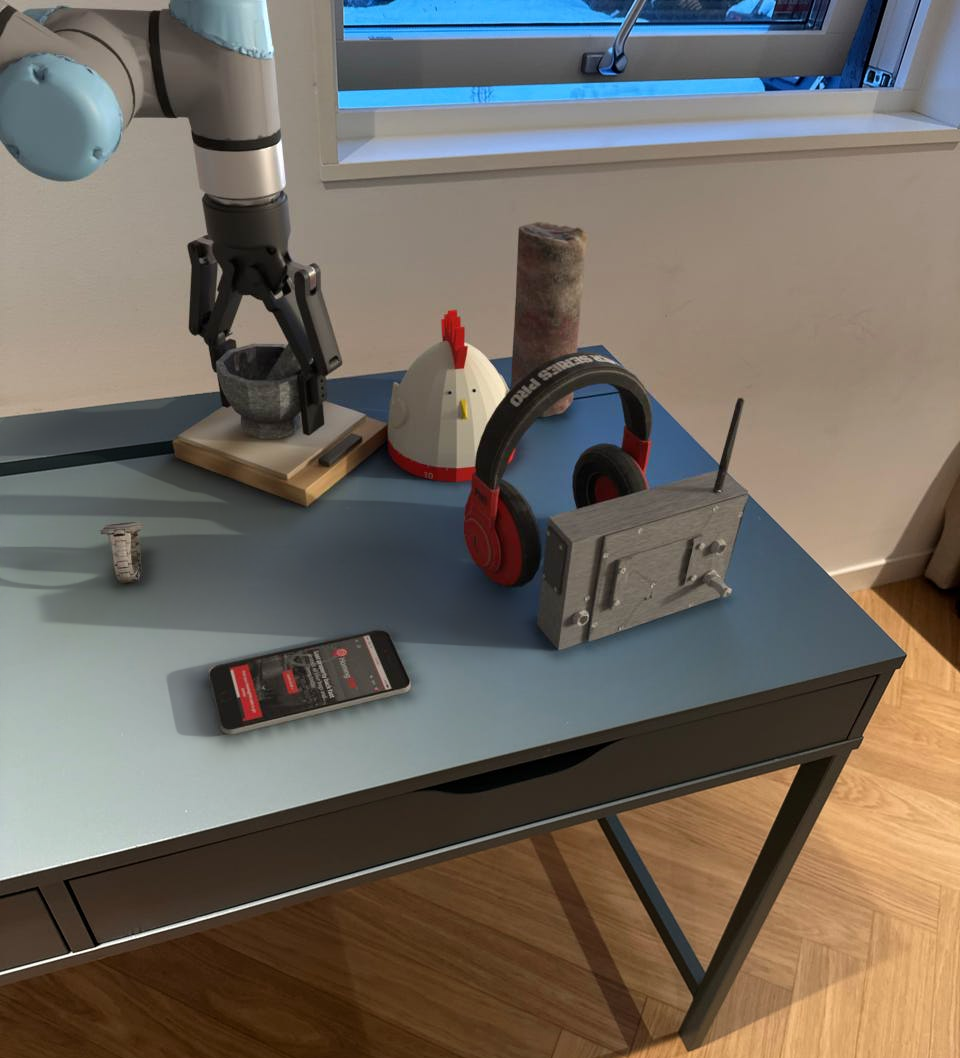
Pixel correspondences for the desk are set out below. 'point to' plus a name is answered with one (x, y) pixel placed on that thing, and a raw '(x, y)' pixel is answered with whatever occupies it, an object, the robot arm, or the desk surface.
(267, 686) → the smartphone
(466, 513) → the headphones
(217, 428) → the scale
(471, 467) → the kitchen timer
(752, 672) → the desk surface
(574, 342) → the brown stone cylinder
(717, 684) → the desk surface
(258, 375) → the mortar and pestle
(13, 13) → the robot arm
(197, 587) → the desk surface
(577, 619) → the electronic device
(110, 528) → the wristwatch
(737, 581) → the desk surface
